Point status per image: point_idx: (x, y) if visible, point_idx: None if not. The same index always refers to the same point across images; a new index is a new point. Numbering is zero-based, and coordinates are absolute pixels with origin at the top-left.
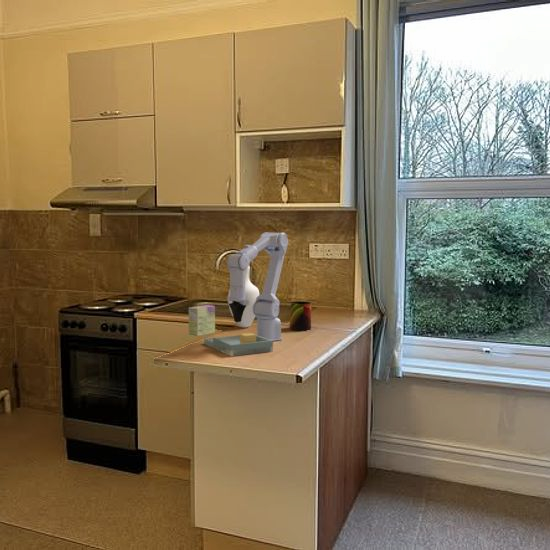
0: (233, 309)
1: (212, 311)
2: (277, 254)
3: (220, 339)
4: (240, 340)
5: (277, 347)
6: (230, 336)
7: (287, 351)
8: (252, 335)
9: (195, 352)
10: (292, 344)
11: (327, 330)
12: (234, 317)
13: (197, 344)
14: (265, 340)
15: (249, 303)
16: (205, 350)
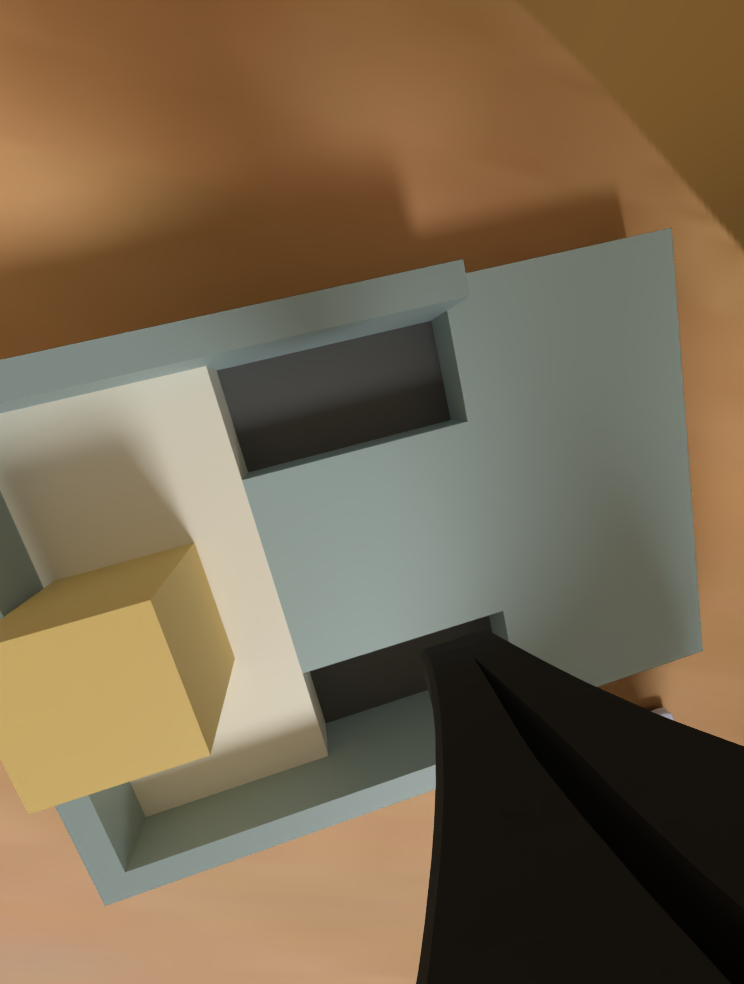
0: (598, 906)
1: None
2: None
3: (302, 332)
4: (153, 571)
5: (303, 848)
6: (675, 526)
7: (131, 906)
8: (2, 761)
9: (245, 38)
10: (384, 954)
11: None
12: (481, 681)
13: (622, 169)
14: (211, 829)
15: None
16: (324, 185)
